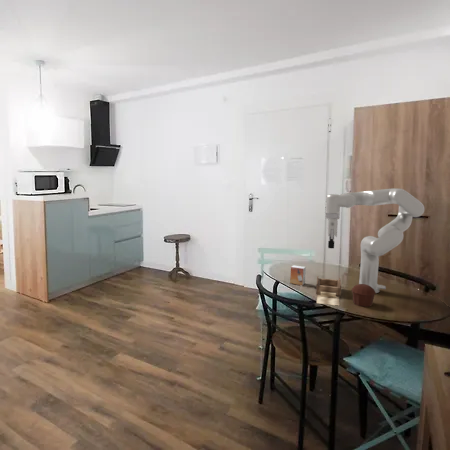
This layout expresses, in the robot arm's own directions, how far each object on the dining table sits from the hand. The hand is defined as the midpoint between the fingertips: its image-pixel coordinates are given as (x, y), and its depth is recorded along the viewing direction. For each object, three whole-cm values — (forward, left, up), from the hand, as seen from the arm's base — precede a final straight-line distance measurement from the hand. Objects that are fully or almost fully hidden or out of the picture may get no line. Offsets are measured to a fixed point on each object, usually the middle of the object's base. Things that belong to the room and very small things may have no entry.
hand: (331, 248), depth 199 cm
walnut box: (0, +4, -25) cm, 25 cm away
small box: (+18, -6, -25) cm, 31 cm away
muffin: (-17, +19, -25) cm, 35 cm away
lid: (0, +19, -25) cm, 32 cm away
